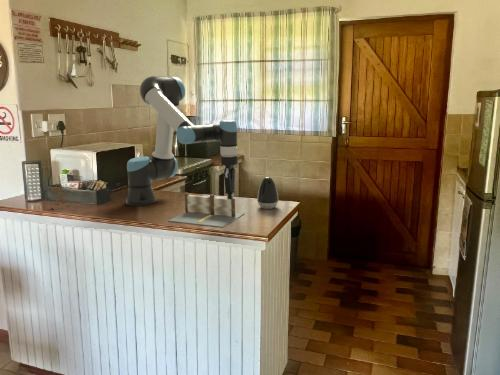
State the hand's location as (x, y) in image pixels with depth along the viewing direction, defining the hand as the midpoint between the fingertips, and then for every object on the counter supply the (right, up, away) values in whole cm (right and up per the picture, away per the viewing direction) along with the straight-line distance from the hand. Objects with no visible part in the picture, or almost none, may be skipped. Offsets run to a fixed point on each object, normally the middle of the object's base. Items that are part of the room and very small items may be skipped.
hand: (230, 207), depth 195 cm
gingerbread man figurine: (-87, -1, +22) cm, 90 cm away
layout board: (-11, -5, -2) cm, 12 cm away
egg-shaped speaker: (+17, -1, +13) cm, 22 cm away
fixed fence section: (-15, -3, +5) cm, 15 cm away
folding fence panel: (-2, -4, -1) cm, 5 cm away
